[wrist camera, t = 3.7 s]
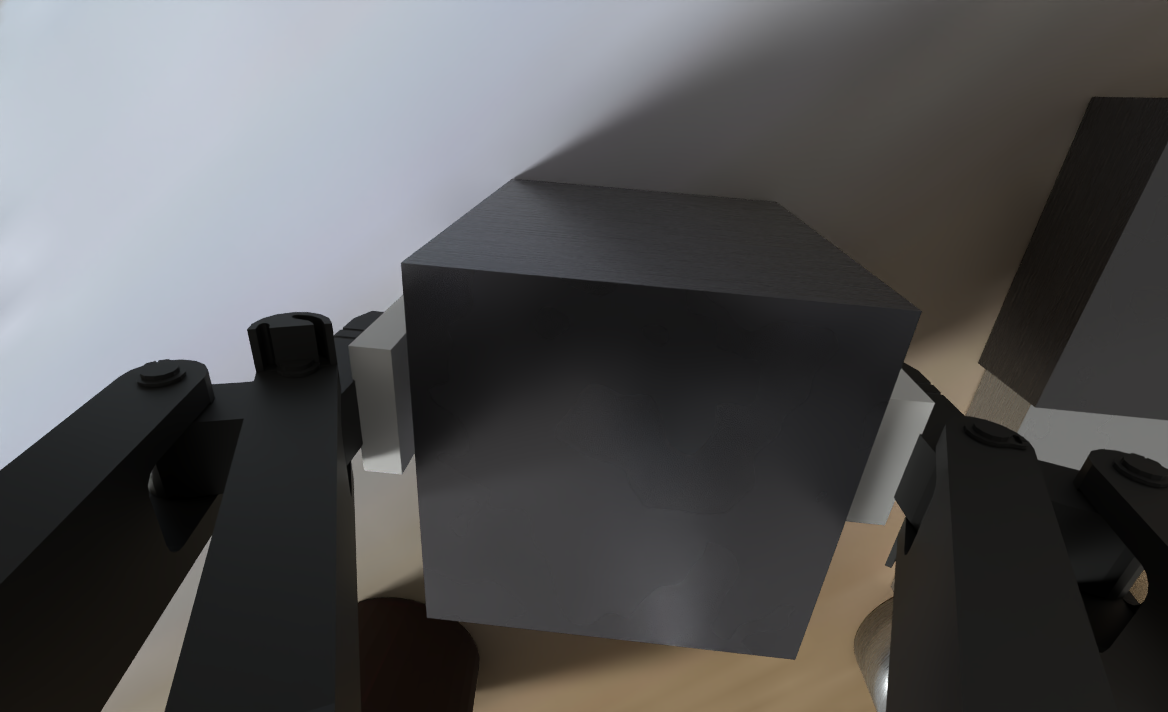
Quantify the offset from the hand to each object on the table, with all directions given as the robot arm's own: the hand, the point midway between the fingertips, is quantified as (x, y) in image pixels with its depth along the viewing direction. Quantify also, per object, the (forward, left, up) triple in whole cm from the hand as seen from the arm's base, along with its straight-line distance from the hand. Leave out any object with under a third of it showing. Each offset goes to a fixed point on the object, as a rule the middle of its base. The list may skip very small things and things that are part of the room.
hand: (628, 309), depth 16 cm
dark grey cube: (0, 0, 0) cm, 0 cm away
